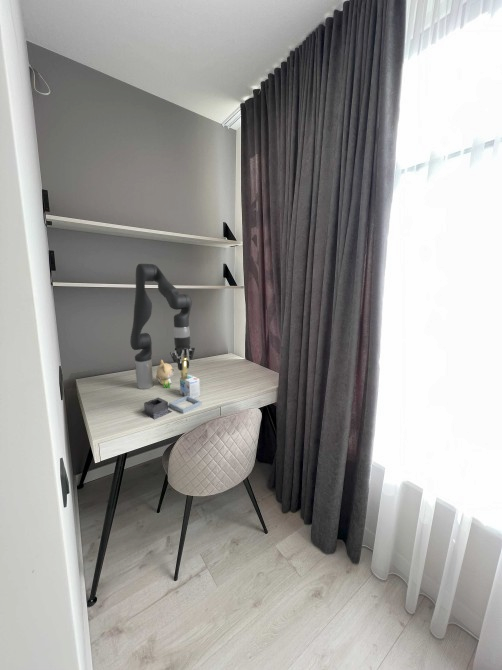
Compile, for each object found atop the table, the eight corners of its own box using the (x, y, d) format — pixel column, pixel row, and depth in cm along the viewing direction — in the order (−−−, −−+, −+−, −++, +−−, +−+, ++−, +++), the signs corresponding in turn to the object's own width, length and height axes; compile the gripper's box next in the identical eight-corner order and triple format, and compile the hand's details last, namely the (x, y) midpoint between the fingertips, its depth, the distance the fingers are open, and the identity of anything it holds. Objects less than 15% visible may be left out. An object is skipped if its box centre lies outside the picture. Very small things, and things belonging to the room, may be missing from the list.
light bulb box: (180, 394, 156) (179, 376, 154) (190, 391, 161) (189, 373, 159) (190, 400, 149) (189, 381, 146) (200, 396, 153) (199, 378, 151)
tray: (169, 408, 139) (169, 403, 139) (187, 400, 148) (187, 395, 148) (183, 415, 132) (183, 409, 132) (201, 406, 141) (201, 401, 140)
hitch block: (140, 413, 134) (139, 402, 133) (158, 406, 141) (158, 395, 140) (154, 421, 126) (153, 409, 125) (172, 413, 134) (171, 402, 133)
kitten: (176, 387, 167) (175, 363, 163) (159, 390, 162) (158, 366, 159) (171, 379, 180) (170, 357, 176) (156, 381, 175) (154, 359, 172)
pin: (178, 378, 137) (177, 357, 134) (185, 376, 140) (184, 356, 138) (183, 380, 134) (182, 359, 132) (190, 378, 137) (189, 357, 135)
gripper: (188, 332, 140) (190, 364, 144) (165, 336, 129) (167, 371, 133) (198, 334, 135) (199, 367, 139) (174, 339, 125) (176, 374, 128)
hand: (183, 368), depth 136 cm, fingers closed on pin, 3 cm apart
